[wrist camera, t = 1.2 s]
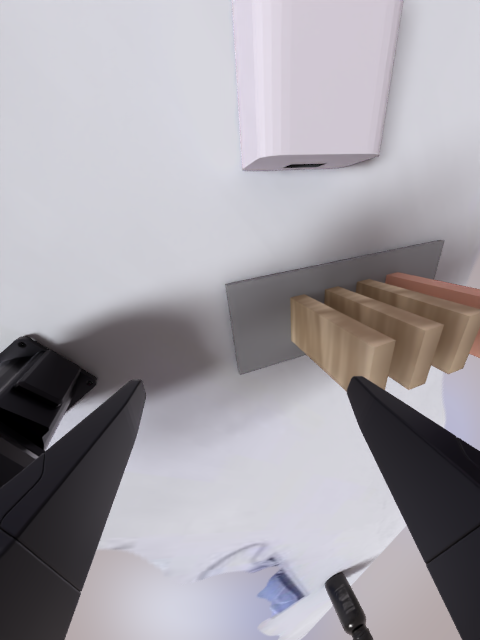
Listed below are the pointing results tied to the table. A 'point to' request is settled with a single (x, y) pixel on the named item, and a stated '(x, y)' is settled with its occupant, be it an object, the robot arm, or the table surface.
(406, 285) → the domino
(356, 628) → the supplement bottle
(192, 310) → the table surface
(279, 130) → the charger
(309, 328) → the domino
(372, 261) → the domino mat
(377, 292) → the domino
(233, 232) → the table surface
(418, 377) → the domino
